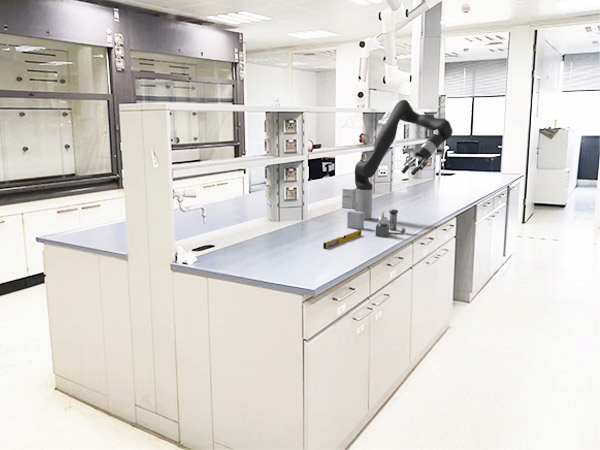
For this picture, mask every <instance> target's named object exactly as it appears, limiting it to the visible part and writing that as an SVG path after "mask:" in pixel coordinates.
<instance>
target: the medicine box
mask: <svg viewBox="0 0 600 450" xmlns="http://www.w3.org/2000/svg"><path fill="white" fill-rule="evenodd" d="M346 220H347V221H346V222H347V223H346V225H347V229H358V230H362V229H363V228H365V220H364V212H359V211H355V210H349V211H347V219H346Z"/></svg>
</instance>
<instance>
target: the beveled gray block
mask: <svg viewBox="0 0 600 450" xmlns="http://www.w3.org/2000/svg"><path fill="white" fill-rule="evenodd" d="M377 221H378V223H377V224H376V225H375V234H374V235H375V237H381V236H383V238H384V237H386V238H388V237H389V236H390V234H389V227H390V224H388V217H386V216H385V211H381V216H378V220H377Z"/></svg>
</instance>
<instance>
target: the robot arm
mask: <svg viewBox="0 0 600 450" xmlns="http://www.w3.org/2000/svg"><path fill="white" fill-rule="evenodd" d="M400 121H402V122H405V123H406V122H407V123H409V124H415V125H418V126H421V127H423V128H425V129H428V130H430V131H433V132H434V131H437V132H438V133H432V134H431V135H429V137H428V138H427V139H426V140H425V141H424V142H423V143H422V144H421V146H419V148H418V149H417V150H416V152H415V156H414V157H412V156H410V157H409V158H408V159H406V161H405V162H404V163H403V166H404V167H403V168H402V169H401V171H400V172H401V173H402V174H404V175H405V174H406V173H407V171H408V170H409V169H410V168H413V169H412V170H411V171H410V174H411V175H412V176H415V175H416V174H417V172H418V171H422V170H423V169H425V167H426V166H427V164H428V163H429V159H431V157H432V155H433V154H434V153H435V152H436V150H437V149H438V148H439V147H440V145H441V144H443V143H445V142H446V141H447V140H449V138H451V137H452V135H453V128H452V126H451V123H450V122H449V120H448V119H446V118H439V117H438V118H437V117H435V116H432V115H429V114H419V113H417V112H416V111H415V110H414V109H413V108H412V105H411V104H410V103H409V102H408V100H406V99H401V100H399V101H398V102H397V103H396V104H395V106H394V107H393V109H392V111H391V113H390V116H389V117H388V119H387V121H386V122H385V124H384V125H383V127H382V129H381V131H380V132H379V133H378V135H377V137H376V138H375V141H374V145H373V153H372V154H371V156H370V157H369V159H368V160H359V161H358V162H357V163H356V164H355V168H354V184H355V186H356V187H355V188H356V202H355V208H354V211H359V212H364V221H365V220H366V221H367V220H371V219H372V217H373V216H372V215H373V214H372V212H373V184H372V183H371V181H370V180H369V179H371V178H372V177H374V176H375V174H376V173H377V170H378V168H379V167H380V165H381V162H382V160H383V159H384V157H385V155H386V154H387V152H388V151H389V149H390V147H391V146H392V145H393V142H394V141H395V140H396V137H397V136H396V135H397V132H398V131H397V130H398V126H399V122H400Z"/></svg>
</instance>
